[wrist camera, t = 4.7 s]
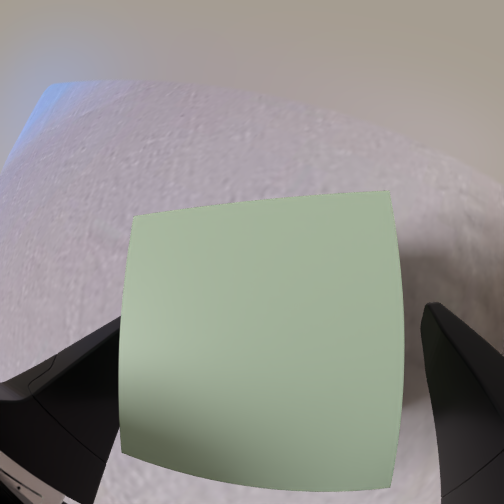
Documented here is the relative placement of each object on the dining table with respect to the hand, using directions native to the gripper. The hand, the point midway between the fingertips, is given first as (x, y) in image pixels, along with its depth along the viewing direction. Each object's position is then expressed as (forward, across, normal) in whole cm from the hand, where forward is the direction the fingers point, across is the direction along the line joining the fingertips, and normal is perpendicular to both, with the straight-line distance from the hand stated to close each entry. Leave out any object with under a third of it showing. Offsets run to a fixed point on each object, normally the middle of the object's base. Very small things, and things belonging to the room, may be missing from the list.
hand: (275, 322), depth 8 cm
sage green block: (+2, 0, +3) cm, 4 cm away
